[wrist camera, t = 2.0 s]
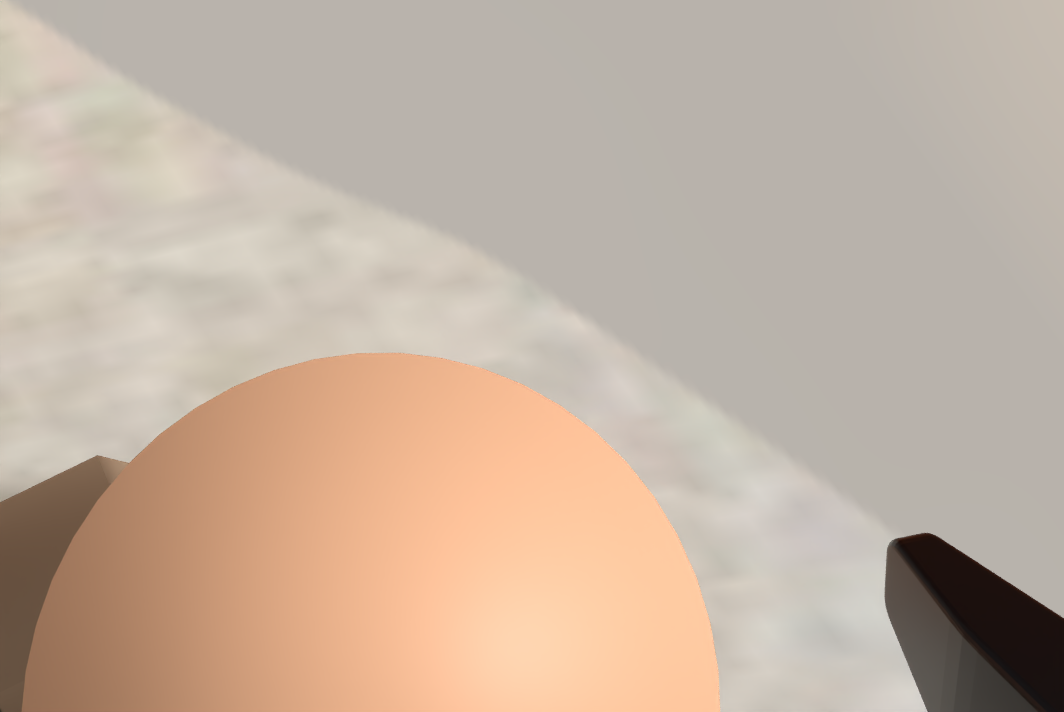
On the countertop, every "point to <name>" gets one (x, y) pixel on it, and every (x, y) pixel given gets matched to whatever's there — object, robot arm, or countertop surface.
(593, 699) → the peg
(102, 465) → the socket block
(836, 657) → the countertop surface
